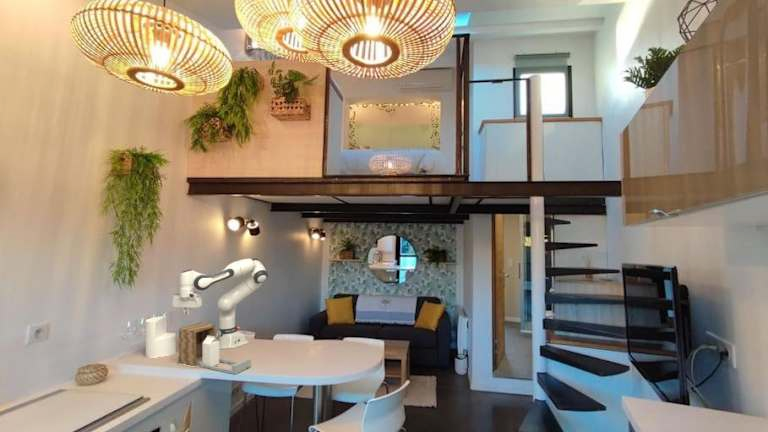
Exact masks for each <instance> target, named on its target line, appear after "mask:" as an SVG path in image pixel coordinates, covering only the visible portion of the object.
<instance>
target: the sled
mask: <svg viewBox="0 0 768 432" xmlns="http://www.w3.org/2000/svg"><path fill="white" fill-rule="evenodd" d="M251 360H252V359H251V358H245V359H243V360H241V361H239V362H238V361H234V360H228V359H223V358H219V363H222V362H224V363H223V364H228V363H230V364H229V365H231V369H229V368H224V367H221V366H216V365H215V366H210V365H206V364H203V360H202V361H200V362H198V367H199V366H203V367H207V368H206V369H208V368H210V369H209V370H213V369H215V370H214V371H217V370H218V372H222V373H223V372H224V373H228V374H232V375H237V374H239V373H241V372H243V371H245V370H244V369H246V368H247V367H250V366H251V365H252V361H251ZM233 364H234V365H233ZM203 367H202V368H203ZM251 367H252V366H251ZM251 367H250V368H251ZM242 370H243V371H242ZM246 370H247V369H246ZM240 371H241V372H240ZM238 372H239V373H238Z"/></svg>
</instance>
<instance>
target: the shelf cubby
mask: <svg viewBox="0 0 768 432" xmlns="http://www.w3.org/2000/svg"><path fill="white" fill-rule="evenodd" d="M207 335H208V336H215V337H216V324H213V323H205V322H198V323H195V324H194V323H193V324H191V325H188V326H185V327H184V326H183V327H181V328H179V329H178V337H179V338H178V341H179V342H178V344H179V345H178V350H179V351H178V357H179V359H178V360H179V361H178V362H179V363H181V364H186V365H190V366H196V367H197V360H198V359H200V358H201V359H203V348H202V343H203V342H204V340H205V339H206V338H207ZM197 358H198V359H197Z"/></svg>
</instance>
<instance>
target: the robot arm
mask: <svg viewBox="0 0 768 432" xmlns="http://www.w3.org/2000/svg"><path fill="white" fill-rule="evenodd" d="M246 274H249V275H250V276H249V277H248V278H246V279H244V280H243V281H242V282H240V283H239V284H237V285H236V286H235V287H233V288H232V289H231V290H229V291H228V292H227V293H224V294H223V295H222V296H221V297H220V298H219V299H218V300H217V301H218V302H217V307H218V309H219V318H218V319H219V320H218V321H219V326H218V327H219V328H218V341H219V350H221V349H223V350H227V349H231V350H232V349H235V348H238V347H241V346H244V345H247V344H249V342H250V341H249V340H248V339H247V338H246V335H245V334H244V333H243V332H241V331H239V330H240V329H241V327H240V326H237V325H236V306H237V305H238V304H239V303H240V302H242V301H243V300H244V299H245V298H247V297H248V296H249V295H251V294H253V292H255V291H257V289H259V288H260V287H261V286H262V285H263V283H264V282H266V281H267V280H268V277H269V274H268V271H267V270H266V268H265V265H263V263H262V261H261V260H260V259H258V258H244V259H239V260H236V261H233V262H231V263H229V264H228V265H226V267H225V268H224V269H223V270H220V271H218V272H216V273H213V274H209V275H206V274H205V273H200V272H198V271H196V270H193V269H186V270H183V271H182V272H181V273H180V275H179V285H180V288H179V293H175V294H174V295H172V305H171V306H172V307H173V308H180V309H181V308H182V310H183V314H184V315H190V314H191V310H192V309H200V308H201V307H202V305H203V300H202V299H203V298H202V293H201V292H199V291H206V290H207V289H208V288H210V287H211V286H212V285H214V284H217V283H220V282H222V281H224V280H228V279H232V278H238V277H241V276H244V275H246ZM195 289H196V290H195ZM197 290H198V291H197Z"/></svg>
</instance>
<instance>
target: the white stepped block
mask: <svg viewBox="0 0 768 432" xmlns="http://www.w3.org/2000/svg"><path fill="white" fill-rule="evenodd" d="M176 353H177V333H176V332H167V315H162V316H156V317H155V316H154V317H151V318H147V319H146V320H145V358H146V357H150V358H155V359H158V358H157V357H163V358H165V357H164V356H167V357H170V356H173V355H174V354H176ZM172 354H173V355H172ZM169 355H170V356H169ZM150 358H149V359H150Z"/></svg>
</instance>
